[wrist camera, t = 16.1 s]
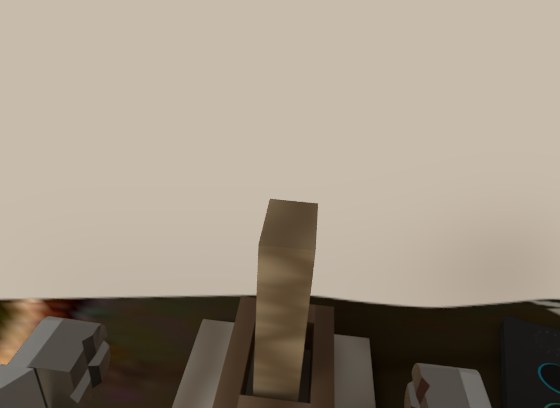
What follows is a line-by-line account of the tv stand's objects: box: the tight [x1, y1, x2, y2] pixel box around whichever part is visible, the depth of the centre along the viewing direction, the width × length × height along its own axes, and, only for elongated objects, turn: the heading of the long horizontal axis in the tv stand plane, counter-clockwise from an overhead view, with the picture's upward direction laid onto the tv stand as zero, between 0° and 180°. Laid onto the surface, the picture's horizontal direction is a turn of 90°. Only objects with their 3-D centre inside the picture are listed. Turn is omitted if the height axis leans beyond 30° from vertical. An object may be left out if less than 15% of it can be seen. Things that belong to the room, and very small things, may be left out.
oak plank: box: [253, 199, 318, 402], centre depth 29 cm, size 3×5×14 cm, turn 174°
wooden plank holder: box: [172, 296, 376, 408], centre depth 32 cm, size 14×11×4 cm
